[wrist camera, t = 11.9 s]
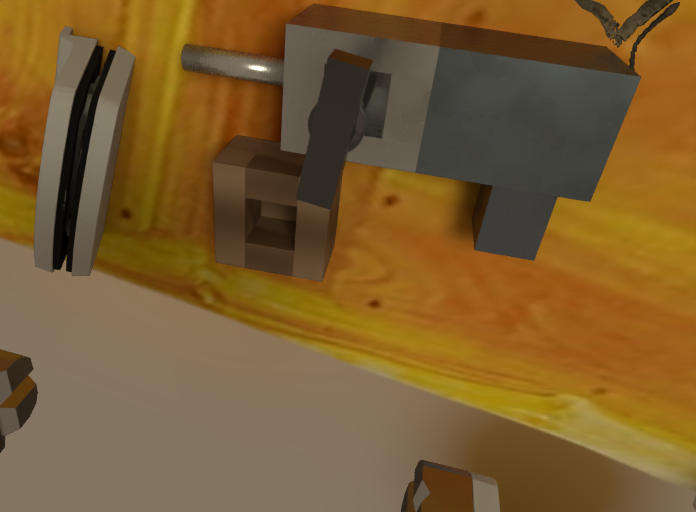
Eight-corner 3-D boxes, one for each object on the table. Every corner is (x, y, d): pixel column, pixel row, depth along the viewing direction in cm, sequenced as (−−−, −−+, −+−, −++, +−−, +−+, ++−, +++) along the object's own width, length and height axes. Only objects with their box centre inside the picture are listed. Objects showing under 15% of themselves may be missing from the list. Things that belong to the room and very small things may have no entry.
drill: (606, 46, 32) (641, 76, 26) (539, 230, 39) (555, 285, 34) (205, -13, 34) (156, 3, 28) (212, 174, 41) (173, 217, 35)
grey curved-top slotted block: (66, 19, 36) (23, 77, 29) (139, 44, 38) (116, 104, 31) (46, 212, 46) (10, 293, 38) (106, 224, 47) (82, 305, 40)
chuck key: (398, 29, 32) (379, 73, 23) (367, 138, 35) (340, 212, 26) (353, 15, 32) (316, 53, 23) (326, 125, 35) (285, 196, 26)
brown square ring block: (334, 245, 43) (322, 281, 39) (237, 228, 43) (215, 262, 39) (344, 153, 38) (332, 182, 34) (237, 135, 39) (212, 162, 35)
